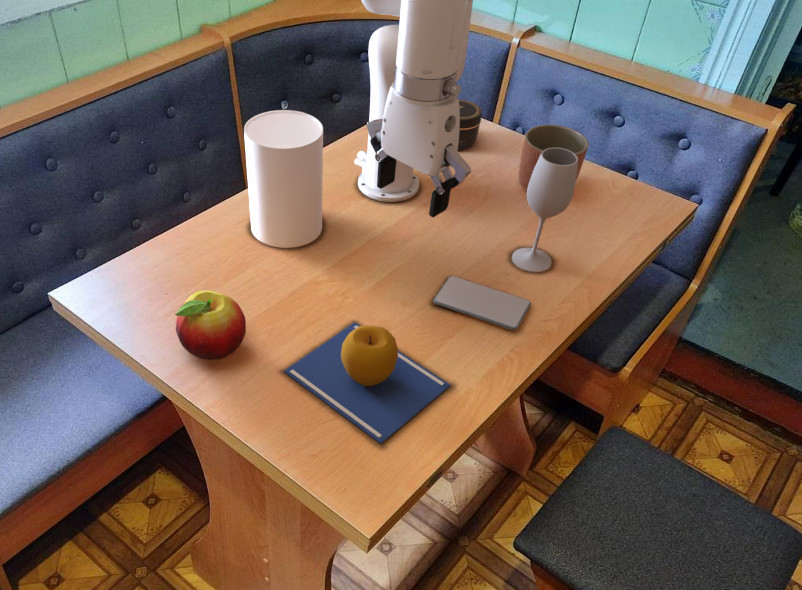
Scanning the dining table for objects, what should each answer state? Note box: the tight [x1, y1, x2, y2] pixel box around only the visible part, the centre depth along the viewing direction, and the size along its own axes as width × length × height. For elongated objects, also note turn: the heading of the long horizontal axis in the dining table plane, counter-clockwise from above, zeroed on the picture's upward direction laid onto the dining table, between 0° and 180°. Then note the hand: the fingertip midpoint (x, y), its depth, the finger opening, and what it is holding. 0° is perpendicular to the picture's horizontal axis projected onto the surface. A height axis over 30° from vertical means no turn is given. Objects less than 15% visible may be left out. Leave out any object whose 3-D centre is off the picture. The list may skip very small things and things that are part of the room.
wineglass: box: [511, 148, 578, 273], centre depth 126 cm, size 8×8×21 cm
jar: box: [457, 99, 483, 152], centre depth 161 cm, size 10×10×8 cm
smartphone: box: [433, 275, 532, 331], centre depth 124 cm, size 8×1×15 cm
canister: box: [243, 109, 324, 249], centre depth 132 cm, size 14×14×20 cm
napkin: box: [283, 321, 451, 445], centre depth 111 cm, size 20×16×1 cm
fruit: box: [174, 289, 247, 361], centre depth 112 cm, size 11×11×10 cm
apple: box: [341, 324, 399, 386], centre depth 108 cm, size 9×8×9 cm
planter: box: [518, 124, 590, 192], centre depth 147 cm, size 12×12×11 cm
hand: (411, 198), depth 103 cm, fingers open, 9 cm apart
